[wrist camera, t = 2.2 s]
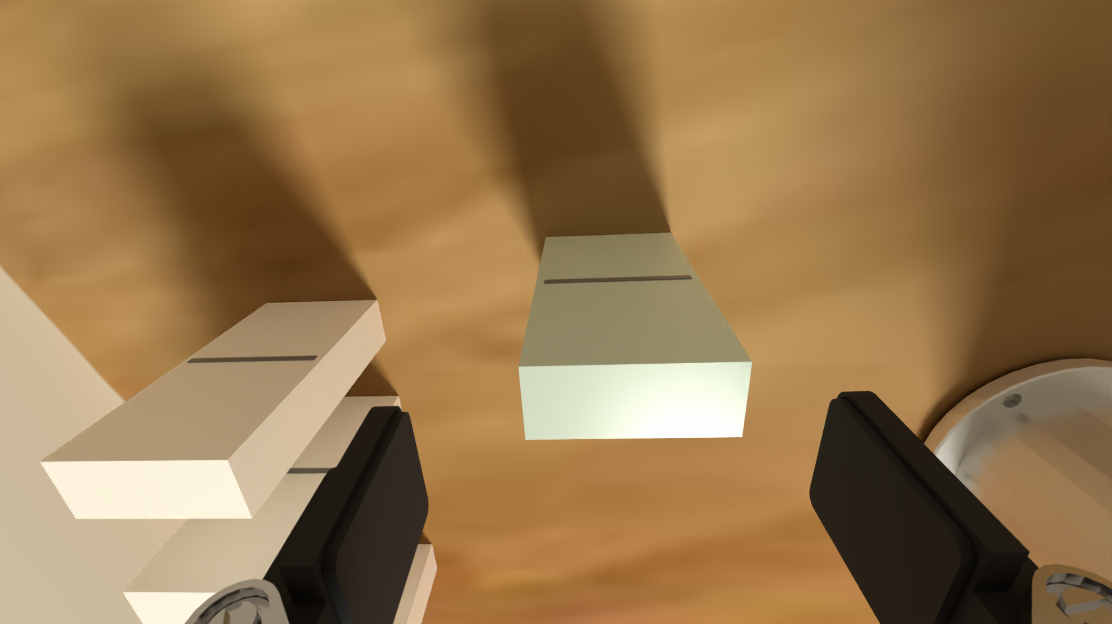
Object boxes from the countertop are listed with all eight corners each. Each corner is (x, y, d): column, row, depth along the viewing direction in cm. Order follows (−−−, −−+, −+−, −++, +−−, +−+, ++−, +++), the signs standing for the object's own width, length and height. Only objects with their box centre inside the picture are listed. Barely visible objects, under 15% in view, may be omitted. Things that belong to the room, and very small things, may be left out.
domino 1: (386, 341, 27) (253, 519, 16) (279, 343, 27) (76, 520, 16) (377, 298, 25) (226, 458, 15) (266, 302, 26) (39, 460, 15)
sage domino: (668, 280, 24) (741, 438, 14) (548, 284, 25) (525, 441, 14) (671, 231, 23) (752, 359, 12) (545, 236, 24) (518, 365, 13)
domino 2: (406, 430, 29) (302, 637, 18) (308, 431, 29) (149, 635, 19) (398, 395, 28) (284, 592, 17) (297, 396, 28) (122, 590, 17)
